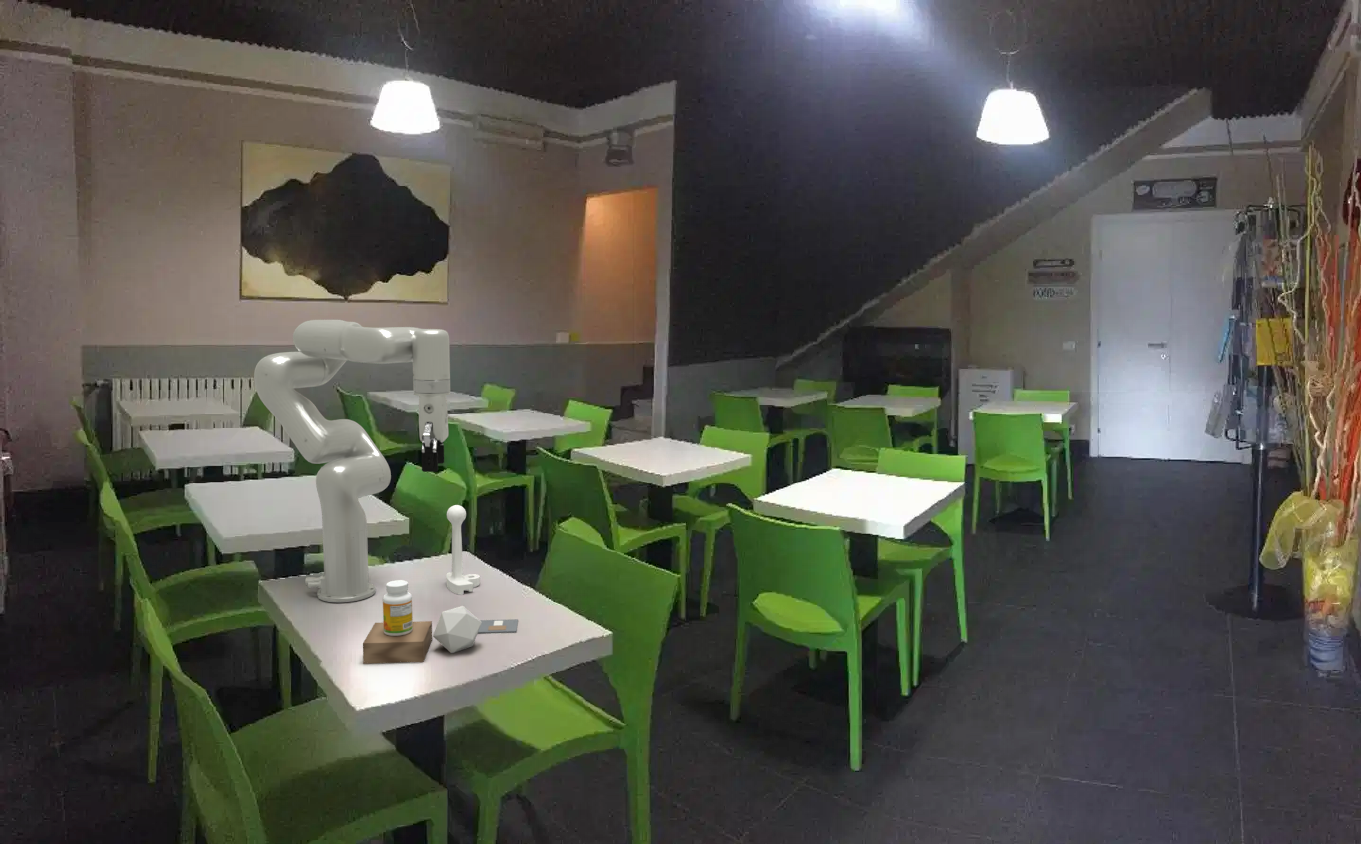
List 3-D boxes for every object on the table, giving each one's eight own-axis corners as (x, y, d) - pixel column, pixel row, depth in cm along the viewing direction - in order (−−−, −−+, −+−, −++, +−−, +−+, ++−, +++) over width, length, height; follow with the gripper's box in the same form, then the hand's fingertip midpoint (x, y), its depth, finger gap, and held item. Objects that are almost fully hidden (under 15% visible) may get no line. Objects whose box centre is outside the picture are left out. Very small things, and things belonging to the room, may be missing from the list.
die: (464, 639, 183) (434, 606, 180) (495, 624, 180) (465, 590, 177) (449, 667, 176) (417, 633, 173) (481, 653, 173) (449, 618, 170)
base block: (363, 663, 168) (362, 643, 168) (375, 641, 179) (375, 622, 179) (423, 661, 170) (423, 641, 169) (432, 640, 181) (431, 621, 180)
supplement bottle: (384, 627, 176) (383, 579, 175) (413, 625, 177) (412, 578, 176) (382, 637, 171) (381, 588, 170) (412, 635, 172) (411, 586, 171)
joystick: (442, 582, 218) (441, 501, 215) (473, 578, 221) (472, 498, 219) (453, 595, 208) (452, 511, 206) (485, 591, 212) (485, 508, 209)
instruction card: (476, 633, 185) (476, 631, 185) (480, 621, 192) (480, 619, 191) (516, 632, 186) (516, 630, 186) (518, 620, 193) (518, 618, 192)
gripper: (444, 391, 182) (446, 474, 184) (455, 384, 199) (456, 460, 201) (406, 391, 181) (408, 475, 183) (420, 383, 198) (421, 460, 200)
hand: (433, 467), depth 192 cm, fingers open, 9 cm apart
